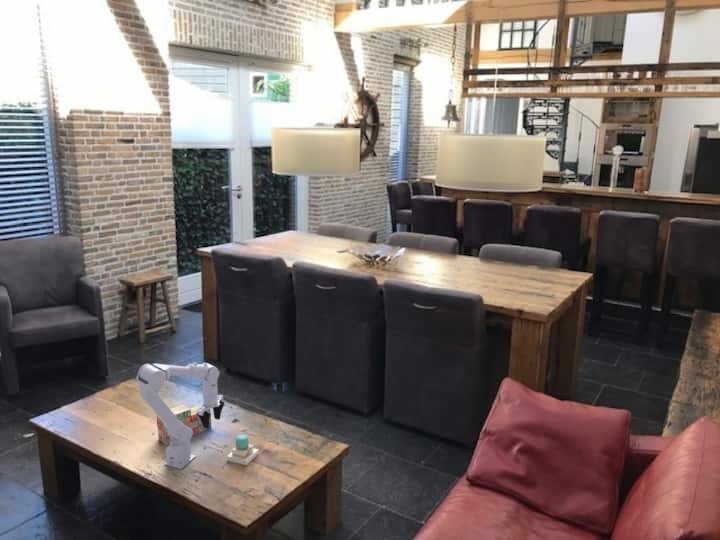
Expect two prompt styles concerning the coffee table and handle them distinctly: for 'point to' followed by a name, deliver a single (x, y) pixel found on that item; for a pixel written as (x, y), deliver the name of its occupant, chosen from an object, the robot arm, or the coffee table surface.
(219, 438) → the coffee table surface
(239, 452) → the maple block
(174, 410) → the stack of blocks
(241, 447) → the teal rounded piece
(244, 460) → the white slab
